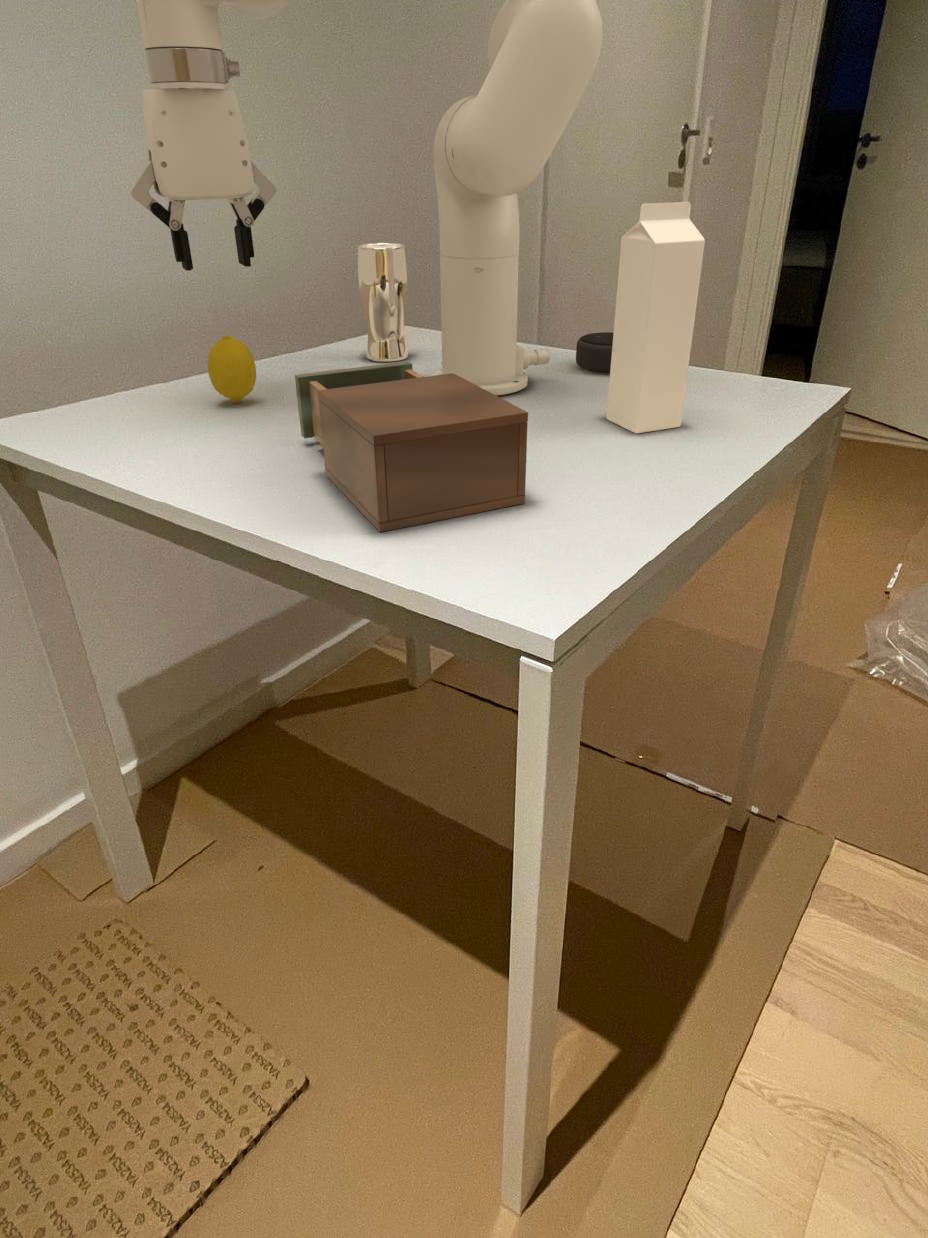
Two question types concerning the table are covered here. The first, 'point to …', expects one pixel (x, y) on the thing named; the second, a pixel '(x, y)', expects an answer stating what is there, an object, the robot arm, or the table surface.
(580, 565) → the table surface
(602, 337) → the smart speaker
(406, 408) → the cabinet
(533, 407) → the table surface
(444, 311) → the robot arm
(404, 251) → the beer glass
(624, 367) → the milk
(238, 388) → the lemon
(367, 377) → the drawer
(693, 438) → the table surface
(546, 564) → the table surface
